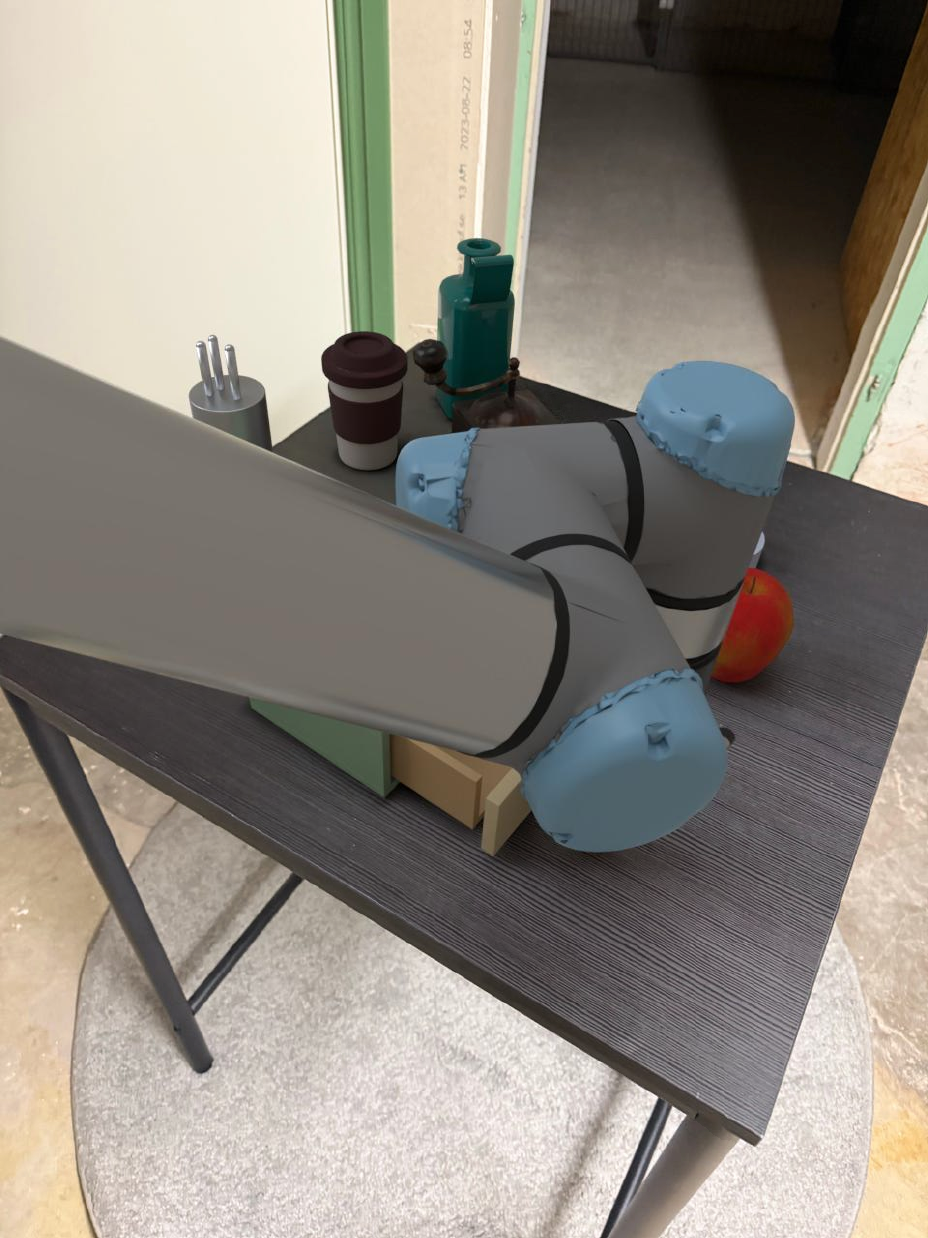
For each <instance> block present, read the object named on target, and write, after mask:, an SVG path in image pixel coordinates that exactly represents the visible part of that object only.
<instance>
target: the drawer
mask: <svg viewBox="0 0 928 1238" xmlns="http://www.w3.org/2000/svg"><path fill="white" fill-rule="evenodd" d="M389 738H390V774H391V776H392V777H394V778H396V779H397V780H399V781H400V783H401V784H403V785H404V786H406V787H408V788H409V789H410V790H412V791H413V792H415V793H416V794H418V795H419V796H421V797H422V798H424V799H425V800H427V801H429V802H430V803H431V804H433V805H434V806H436V807H438V808H439V809H441V810H442V811H444V812H445V813H447V814H449V815H450V816H451V817H453V818H454V819H456V820H457V821H459V823H462V824H463V825H464V826H466V827H468V828H469V829H470V830H474V829H475V828H476V826H477V825H478V824H479V822H480V821H481V820H482V819H483V825H482V826H483V827H482V835H481V846H480V849H481V850H483V851H484V852H485V853H487V854H488V855H490V856H492V857H494V856H495V855H496V854H497V853H498V851H499V850H500V849H502V847H503V846H504V844H505V843H506V842H507V841H508V839H509V838H510V837H511V836H512V834H513V833H514V832H515V831H516V830H517V828H518V827H519V826H520V825H521V823H523V821H524V820H525V819H526V818H527V816H528V815H529V814H530V812H532V809H531V807H530V805H529V803H528V801H527V800H525V799H524V798H523V796H522V794H521V790H520V788H521V776H520V774H519V773H518V772H517V771H516V770H515V769H513V768H512V767H509V766H505V765H501V764H498V763H494V762H490V761H486V760H483V759H480V758H477V757H473V756H469V755H465V754H463V753H460V752H457V751H455V750H451V749H447V748H443V747H439V746H435V745H432V744H428V743H424V742H420V741H416V740H412V739H408V738H404V737H400V736H397V735H393V734H389Z"/></svg>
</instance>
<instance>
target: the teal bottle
mask: <svg viewBox="0 0 928 1238" xmlns="http://www.w3.org/2000/svg"><path fill="white" fill-rule="evenodd" d="M456 250H457V251H458V252H459V253H460V254H461V255H463V266H462V273H455V274H452V275H448V276H446V277H444V278H443V279H442V280H440V283H439V286H438V290H437V320H436V321H437V324H436V325H437V329H436V340H438V341H441V342H442V343H443V345H444V346H445V348H446V349H447V351H448V356H447V359H446V361H445V363H444V365H443V367H444V369H445V371H446V372H447V374H448V377H447V379H446V380H445V383H447V384H448V385H449V386H451V387H453V388H469V387H473V386H476V385H480V384H484V383H487V382H490V381H493V380H495V379H496V378H498V377H501V376H503V375H504V374H506V373H507V370H508V369H509V368H510V367H509V363H508V361H509V360H510V359H511V353H512V343H513V332H514V330H513V329H514V319H515V310H516V309H515V308H516V298H515V295H514V293H513V291H512V290H511V288H512V287H511V286H512V281H513V280H512V279H513V274H514V266H515V265H514V264H515V259H514V256H513V255H512V254H501V255H499V254H500V253H501V252H502V246H501V245H500V244H499V243H498V242H496V241H494V240H491V239H488V238H483V237H472V238H471V237H470V238H465V239H463V240H461V241H459V242H458V243H457V245H456ZM500 387H501V392H507V391H508V382H507V383H505V384H503V385H501V386H500ZM493 392H494V388H493V389H490V390H487V391H484V392H480V393H477V394H473V395H467V396H452V395H449V394H446V393H444V392H443V391H442V390H440V389H439V388H437V386H436V385H435V398H436V401H437V403H438V404H439V406H440V407H441V409H442V410H443V412H444V414H445V416H446V417H447V418H448V419H450V420H451V421H452V411H453V409H452V406H453V403H455V402H460V401H465V400H471V399H476V398H479V397H481V396H482V395H485V394H488V393H493ZM436 394H437V395H436ZM437 396H438V397H439V399H438V397H437ZM441 403H442V404H441Z"/></svg>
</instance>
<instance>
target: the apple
mask: <svg viewBox="0 0 928 1238" xmlns="http://www.w3.org/2000/svg"><path fill="white" fill-rule="evenodd" d="M794 617H795V616H794V607H793V602H792V597H791V595H790V594H789V593H788V591H787V590H786V589H785V587H784V586H783V585H782V584H781V582H780V581H779V580H778V579H777V578H776V577H774V576H772V575H771V574H770V573H768V572H766V571H764V570H762V569H759V568H757V567H756V568H748V570H747V573H746V576H745V578H744V581H743V586H742V589H741V592H740V595H739V598H738V600H737V603H736V606H735V609H734V612H733V615H732V618H731V620H730V623H729V626H728V629H727V632H726V635H725V637H724V638H723V640H722V646H721V649H720V652H719V655H718V658H717V661H716V663H715V666H714V669H713V672H712V675H711V678H713V679H715V680H718V681H720V682H723V683H742V682H744V681H748V680H751V679H753V678H754V677H756V676H757V675H759V674H760V673H761V672H762V671H763V670H764V669H766V668H767V667H768V666H769V665H770V664H771V663H772V662H773V661H774V660H776V659H777V658H778V656H779V655H780V653H781V652H782V650H783V649H784V647H785V645H786V644H787V642H788V641H789V640H790V638H791V635H792V632H793V630H794V627H795V619H794Z"/></svg>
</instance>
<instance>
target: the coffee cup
mask: <svg viewBox="0 0 928 1238" xmlns="http://www.w3.org/2000/svg"><path fill="white" fill-rule="evenodd" d="M320 362H321V363H320V364H321V371H322V374H323V375H324V377H325V378H326V379H327V381H328V382H327V393H328V399H329V406H330V413H331V419H332V426H333V430H334V432H335V434H336V442H337V448H338V449H337V450H338V455H339V458H340V460H341V461H342V462H343V463H344V464H345V465H346V466H348V467H350V468H353V469H355V470H359V471H376V470H381V469H384V468H386V467H389V466H390V465H391V464H392V463H393V462H395V460H396V458H397V455H398V449H399V447H398V446H399V432H400V430H401V428H402V427H401V426H402V415H403V414H402V413H403V399H404V383H403V378H405V376H406V374H407V373H408V369H409V368H408V354H407V353H406V351H405V349H403V348H402V347H401V346H400V345H398V344H396V343H395V342H394V341H393V340H392V338H389V337H388V336H387V335H385V334H383V333H380V332H377V331H376V332H375V331H370V330H369V331H368V330H359V331H358V330H357V331H352V332H348V333H345V334H343V335H341V336H339V337H338V338H337V339H336V340H335V341H334V343H333V344H331V345H329V346H328V347H327V348H325V349H324V350H323V351H322V354H321V356H320Z"/></svg>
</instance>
